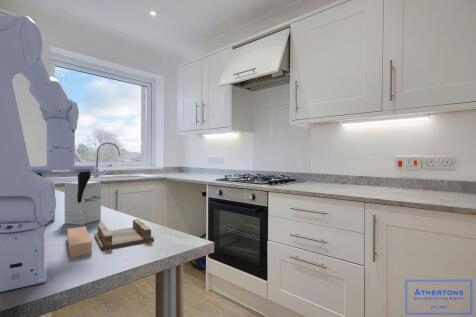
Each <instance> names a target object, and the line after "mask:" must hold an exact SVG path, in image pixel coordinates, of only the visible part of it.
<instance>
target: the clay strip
mask: <svg viewBox="0 0 476 317" xmlns="http://www.w3.org/2000/svg"><path fill="white" fill-rule="evenodd" d="M66 230H67V233H66V234H67V245H68V251H69V257H70V258H75V257H76V256H77V257H81V256H80V255H82V256H86V254H87V255H92V254H93V242H92V239H91V236H90V234H89V232H88V229H87V227H86V226H78V227H73V228H67V229H66Z"/></svg>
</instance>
